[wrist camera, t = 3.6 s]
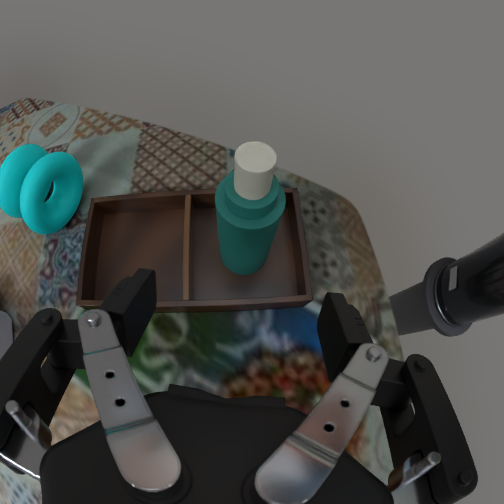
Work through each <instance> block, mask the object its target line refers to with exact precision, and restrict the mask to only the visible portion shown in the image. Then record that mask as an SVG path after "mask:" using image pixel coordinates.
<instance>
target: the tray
mask: <svg viewBox="0 0 504 504" xmlns="http://www.w3.org/2000/svg"><path fill="white" fill-rule="evenodd" d="M216 190H217V189H201V190H181V191H165V192H151V193H139V194H128V195H117V196H107V197H98V198H92V199H91V203H90V208H89V213H88V218H87V223H86V228H85V234H84V240H83V246H82V253H81V261H80V269H79V278H78V288H77V301H76V305H77V306H79V307H82V308H85V309H87V310H91V309H98V308H99V307H100V305H101V304H102V303H103V301H104V300H105V299H106V298H107V296H108V295H109V294H111V291H112V290H113V289H115V286H116V285H117V284H118V283H119V281H121V280H122V279H124V278H126V277H128V276H129V277H132V276H133V275H134V274H135V272H136V271H137V270H138V269H139V268H144V269H151V270H155V273H156V289H157V305H156V309H155V311H154V313H179V312H221V311H245V310H263V309H279V308H293V307H304V306H305V305H307V304H308V303H309V302H311V301H312V300H313V297H312V288H311V280H310V272H309V264H308V257H307V249H306V242H305V235H304V229H303V222H302V216H301V209H300V203H299V197H298V191H297V188H283V190H284V193H285V197H286V205H285V209H284V212H283V214H282V217H281V220H280V223H279V226H278V228H277V231H276V234H275V237H274V240H273V242H272V245H271V248H270V251H269V253H268V256H267V259H266V261H265V263H264V265H263V266H262V267H261V268H260V269H259V270H258V271H256V272H255V273H252V274H248V275H240V274H236V273H233V272H232V271H230V270H229V269H227V268H226V267H225V265H224V264H223V262H222V260H221V257H220V249H219V238H218V228H217V217H216V206H215V193H216Z"/></svg>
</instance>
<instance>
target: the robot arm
mask: <svg viewBox="0 0 504 504" xmlns="http://www.w3.org/2000/svg"><path fill="white" fill-rule="evenodd" d="M433 297H434V302H435V306H436V309H437V311H438V314H439V315H440V317H441V318H442V320H443V321H444V322H445V323H446V324H448V325H450V326H452V327H459V326H463V325H465V324H468V323H472V322H476V321H480V320H484V319H487V318H491V317H494V316H498V315H501V314H504V233H502V234H501V235H499V236H498V237H496V238H494V239H493V240H491V241H489V242H488V243H486V244H485V245H483V246H481V247H480V248H478V249H476V250H474V251H473V252H471V253H469V254H467V255H465V256H464V257H462V258H460V259H458V260H456V261H455V262H453V263H451V264H448V265H446V266H444V267H442V268H441V269H440V270H439V271H438V273H437V275H436V277H435V280H434V286H433ZM156 305H157V289H156V273H155V270H151V269H144V268H139V269H138V270H137V271H136V272H135V274H134V275H133V276H132V277H129V276H128V277H126V278H124V279H122V280H121V281H119V283H118V284H117V285H116V286H115V289H113V290H112V291H111V294H109V295H108V296H107V298H106V299H105V300H104V301H103V303H102V304H101V305H100V307H99V308H98V309H91V310H88V311H85V312H84V313H82V314H81V315H80V316H79V318H78V320H68V319H62V316H61V313H60V312H59V311H58V310H57V309H54V308H47V309H43V310H41V311H39V312H37V313H36V314H35V315H34V317H33V318H32V319H31V320H30V321H29V323H28V324H27V325H26V326H25V328H24V329H23V330H22V331H21V333H20V334H19V335H18V337H17V338H16V339H15V340H14V342H13V343H12V344H11V346H10V347H9V348H8V350H7V351H6V353H5V354H4V355H3V357H2V358H1V359H0V462H1V463H3V464H4V465H6V466H7V467H9V468H10V469H11V470H12V471H14V472H15V473H17V474H27V475H29V476H31V477H33V478H34V479H36V480H38V481H40V483H41V490H42V504H453V503H455V502H457V501H459V500H460V499H462V498H464V497H466V496H467V495H469V494H470V493H471V492H473V491H474V489H475V488H476V485H477V481H478V475H477V471H476V468H475V465H474V462H473V459H472V456H471V453H470V450H469V447H468V444H467V442H466V439H465V436H464V434H463V431H462V428H461V426H460V423H459V421H458V419H457V416H456V414H455V411H454V409H453V407H452V404H451V402H450V400H449V398H448V395H447V394H446V392H445V389H444V387H443V385H442V383H441V380H440V378H439V376H438V374H437V372H436V370H435V368H434V366H433V364H432V363H431V362H430V360H429V359H427V358H426V357H424V356H422V355H419V354H412V355H410V356H408V358H407V359H406V361H405V362H402V361H397V360H393V359H390V358H389V355H388V353H387V351H386V350H385V349H384V348H382V347H381V346H379V345H377V344H374V343H373V341H372V339H371V337H370V334H369V332H368V330H367V328H366V326H365V324H364V321H363V320H362V317H361V315H360V313H359V311H358V310H357V309H356V308H355V307H354V306H353V305H349V304H348V303H347V301H346V299H345V297H344V295H343V294H341V293H330V292H327V293H326V295H325V298H324V301H323V305H322V308H321V311H320V314H319V317H318V322H317V332H318V336H319V340H320V344H321V349H322V353H323V357H324V361H325V365H326V370H327V374H328V378H329V382H333V383H332V385H331V386H330V387H329V389H328V390H327V391H326V393H325V394H324V395H323V397H322V398H321V399H320V401H319V402H318V403H317V404H316V406H315V407H314V408H313V410H312V411H311V412H310V413H309V415H308V416H307V415H305V414H304V413H302V412H300V411H298V410H296V409H294V408H291V407H288V406H285V398H280V397H264V396H251V397H242V398H231V399H226V398H222V397H219V396H216V395H213V394H211V393H208V392H205V391H202V390H200V389H197V388H191V387H185V386H179V385H174V384H170V385H169V388H168V391H163V392H155V393H151V394H147V395H144V396H143V393H142V391H141V389H140V387H139V385H138V383H137V380H136V378H135V376H134V374H133V371H132V369H131V367H130V364H129V362H128V359H127V357H126V356H128V357H132V355H133V353H134V351H135V349H136V347H137V345H138V343H139V341H140V339H141V337H142V335H143V333H144V331H145V329H146V327H147V325H148V323H149V321H150V319H151V317H152V315H153V313H154V311H155V309H156ZM46 356H47V357H48V358H47V359H46V361H45V362H44V364H43V366H42V367H41V364H42V362H43V360H44V359H45V357H46ZM76 369H86V372H87V376H88V380H89V384H90V387H91V391H92V394H93V398H94V401H95V404H96V407H97V410H98V414H99V417H100V419H101V420H99V421H98V422H96V423H94V424H92V425H90V426H89V427H87V428H85V429H83V430H81V431H79V432H77V433H75V434H73V435H72V436H70V437H68V438H66V439H64V440H62V441H60V442H58V443H56V444H54V445H53V446H51V441H52V434H51V431H50V429H49V425H50V423H51V420H52V418H53V416H54V414H55V411H56V409H57V407H58V405H59V403H60V401H61V399H62V397H63V394H64V392H65V390H66V388H67V386H68V384H69V382H70V380H71V378H72V376H73V374H74V373H75V371H76ZM411 403H413V406H414V409H415V415H414V412H413V409H412V406H411ZM370 404H371V405H375V406H379V407H380V411H381V414H382V418H383V422H384V426H385V431H386V435H387V439H388V443H389V448H390V452H391V457H392V462H393V467H394V470H392V472H391V473H390V475H389V477H388V485H387V486H386V485H385V484H384V483H383V482H382V481H380V480H379V479H378V478H377V477H375V476H374V475H373V474H372V473H371V472H369V471H368V470H367V469H366V468H365V467H364V466H362V465H361V464H360V463H359V462H358V461H357V460H356V459H354V458H353V457H352V456H351V455H350V454H349V453H348V452H347V451H345V450H344V449H345V447H346V446H347V444H348V443H349V441H350V439H351V438H352V436H353V434H354V432H355V431H356V429H357V427H358V426H359V424H360V422H361V420H362V418H363V417H364V415H365V413H366V411H367V409H368V407H369V405H370Z"/></svg>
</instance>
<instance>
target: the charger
mask: <svg viewBox="0 0 504 504" xmlns="http://www.w3.org/2000/svg"><path fill="white" fill-rule="evenodd" d="M12 343H13V334H12V319H11V318H10V317H9V315H8V314H7V313H6V312H3V311H0V359H1V358H2V357H3V355H4V354H5V353H6V351H7V350H8V348H9V347H10V346H11V344H12Z"/></svg>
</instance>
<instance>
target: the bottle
mask: <svg viewBox="0 0 504 504" xmlns="http://www.w3.org/2000/svg"><path fill="white" fill-rule="evenodd" d="M276 162H277V156H276V153H275V151H274V150H273V149H272V148H271V147H270V146H269V145H267V144H265V143H262V142H257V141H252V142H247V143H244V144H243V145H241V146H240V147H239V148H238V149H237V150H236V152H235V163H234V170H232V171H231V172H230V173H229V175H228V176H227V177H225V178H224V179H223V180H222V181H221V182H220V184H219V185H218V187H217V190H216V193H215V206H216V217H217V228H218V238H219V249H220V257H221V260H222V262H223V264H224V265H225V267H226V268H227V269H229V270H230V271H232V272H233V273H236V274H240V275H248V274H252V273H255V272H256V271H258V270H259V269H260V268H261V267H262V266H263V265H264V263H265V261H266V259H267V256H268V253H269V251H270V248H271V245H272V242H273V240H274V237H275V234H276V231H277V228H278V226H279V223H280V220H281V217H282V214H283V212H284V209H285V205H286V197H285V193H284V190H283V188H282V186H281V185H280V183H279V182H278V180H277V178H276V176H275V175H274V170H275V166H276Z"/></svg>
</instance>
